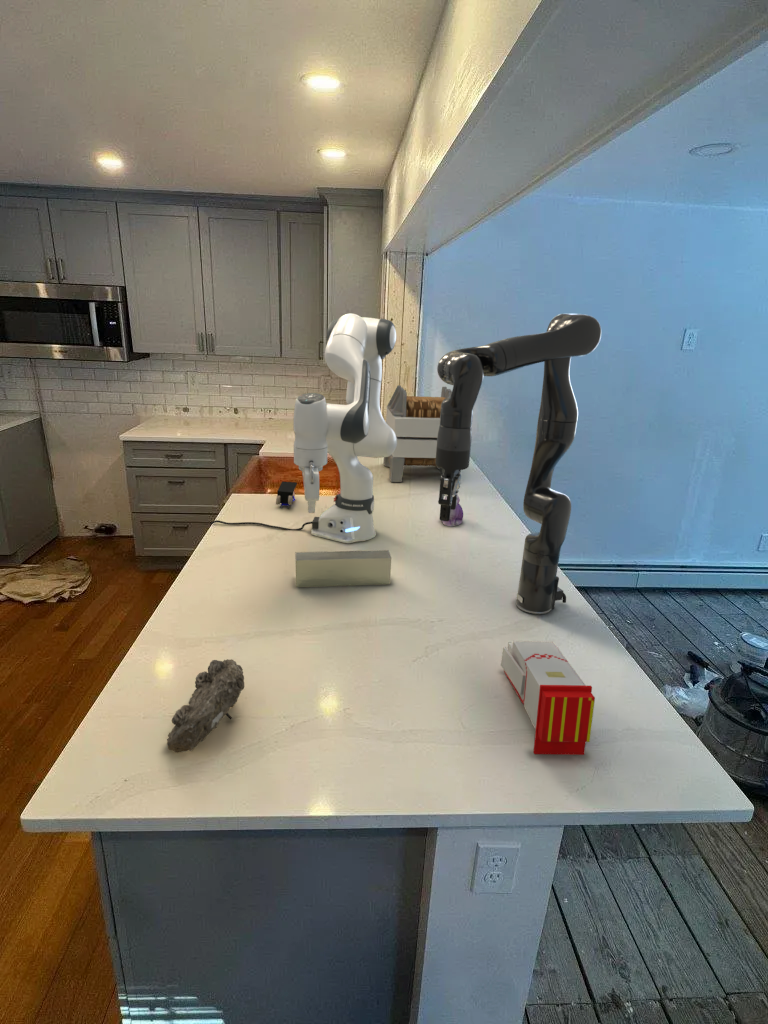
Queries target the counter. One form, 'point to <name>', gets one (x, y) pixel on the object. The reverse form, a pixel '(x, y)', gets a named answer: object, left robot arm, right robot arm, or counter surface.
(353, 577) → the bar
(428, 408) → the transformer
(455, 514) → the figurine
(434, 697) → the counter surface
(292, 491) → the figurine character
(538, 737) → the toy
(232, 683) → the fossil
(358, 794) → the counter surface
